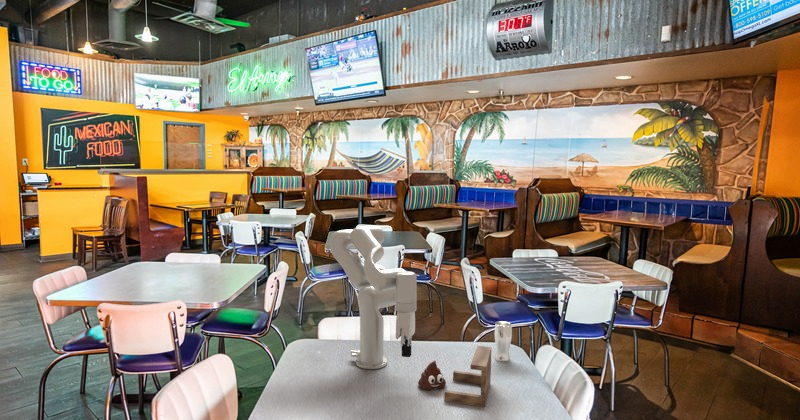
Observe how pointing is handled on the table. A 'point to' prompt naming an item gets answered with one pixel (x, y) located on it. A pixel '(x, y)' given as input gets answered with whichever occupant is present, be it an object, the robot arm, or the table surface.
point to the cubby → (474, 379)
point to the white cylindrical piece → (503, 340)
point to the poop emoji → (432, 378)
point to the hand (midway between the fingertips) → (406, 356)
